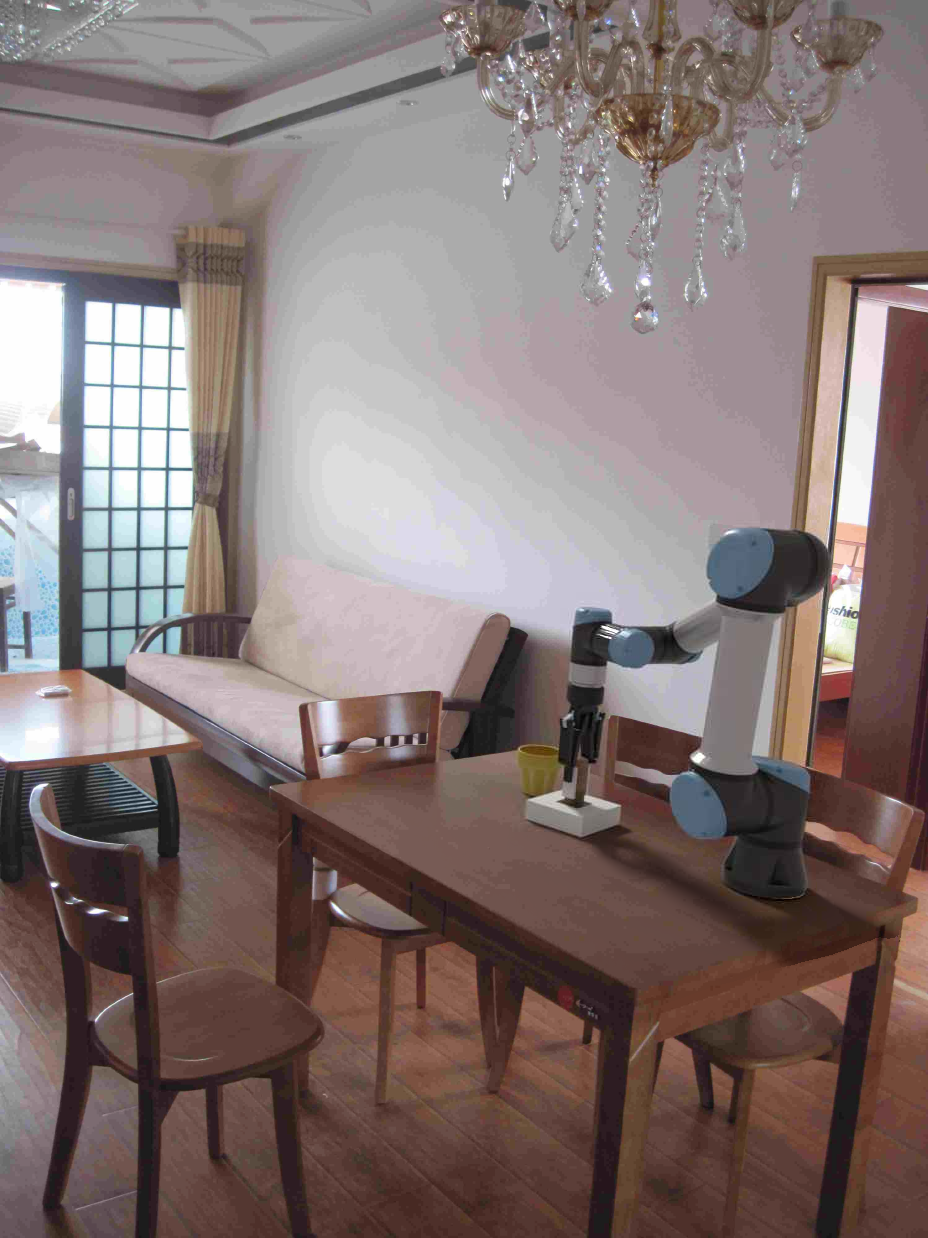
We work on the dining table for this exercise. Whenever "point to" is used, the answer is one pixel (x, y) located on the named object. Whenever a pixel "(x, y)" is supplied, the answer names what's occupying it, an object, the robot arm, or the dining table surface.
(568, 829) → the socket block
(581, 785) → the peg
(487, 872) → the dining table surface
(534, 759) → the plant pot
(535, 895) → the dining table surface
